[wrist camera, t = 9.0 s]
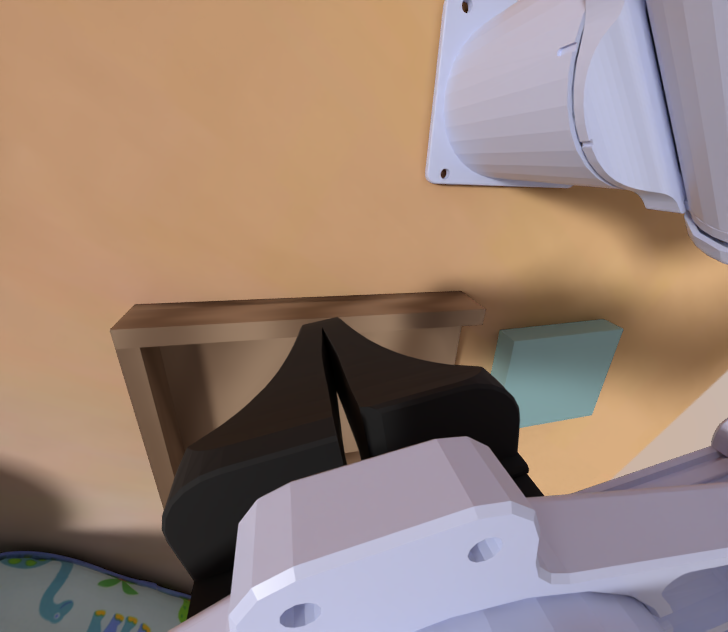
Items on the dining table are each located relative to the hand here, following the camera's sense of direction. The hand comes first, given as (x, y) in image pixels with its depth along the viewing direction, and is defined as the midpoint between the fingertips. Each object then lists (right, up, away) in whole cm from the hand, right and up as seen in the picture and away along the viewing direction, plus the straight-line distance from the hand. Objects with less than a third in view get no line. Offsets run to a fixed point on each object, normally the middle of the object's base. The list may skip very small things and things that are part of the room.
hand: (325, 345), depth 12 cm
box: (-2, -4, +11) cm, 12 cm away
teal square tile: (+15, -3, +15) cm, 22 cm away
